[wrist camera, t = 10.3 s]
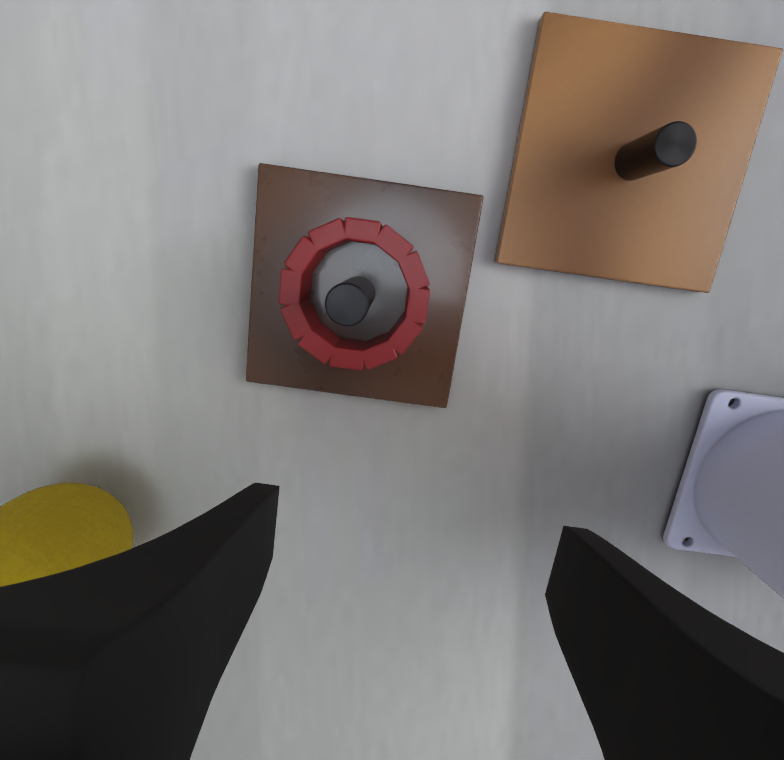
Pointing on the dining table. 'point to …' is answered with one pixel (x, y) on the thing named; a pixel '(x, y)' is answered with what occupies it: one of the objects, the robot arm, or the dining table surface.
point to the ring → (303, 313)
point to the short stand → (632, 151)
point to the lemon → (60, 531)
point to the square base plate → (360, 281)
